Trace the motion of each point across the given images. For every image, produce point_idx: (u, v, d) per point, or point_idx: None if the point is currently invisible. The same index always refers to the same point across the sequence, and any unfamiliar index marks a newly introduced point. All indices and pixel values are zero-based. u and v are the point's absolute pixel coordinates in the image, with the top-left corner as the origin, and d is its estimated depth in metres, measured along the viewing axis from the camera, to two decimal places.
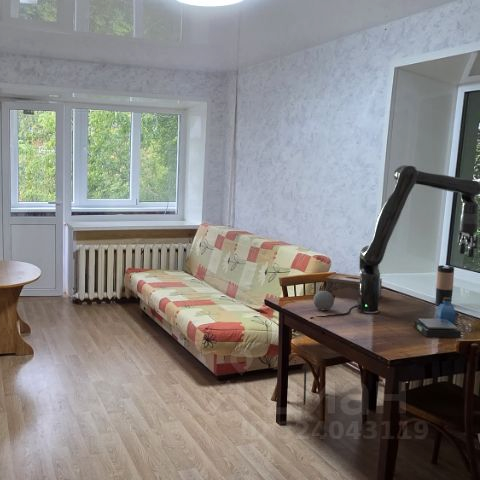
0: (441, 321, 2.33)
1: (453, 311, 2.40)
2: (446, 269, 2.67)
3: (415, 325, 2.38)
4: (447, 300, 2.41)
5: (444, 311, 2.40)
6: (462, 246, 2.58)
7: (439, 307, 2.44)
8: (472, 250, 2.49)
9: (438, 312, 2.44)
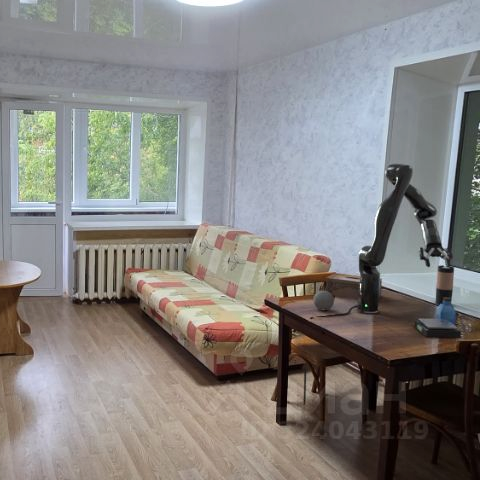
0: (441, 321, 2.33)
1: (453, 311, 2.40)
2: (446, 269, 2.67)
3: (415, 325, 2.38)
4: (447, 300, 2.41)
5: (444, 311, 2.40)
6: None
7: (439, 307, 2.44)
8: None
9: (438, 312, 2.44)
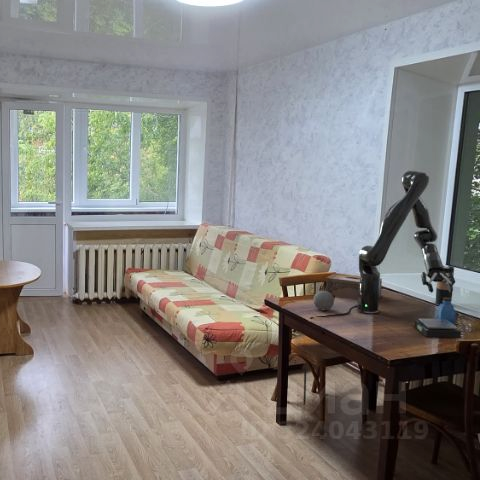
0: (441, 321, 2.33)
1: (453, 311, 2.40)
2: (446, 269, 2.67)
3: (415, 325, 2.38)
4: (447, 300, 2.41)
5: (444, 311, 2.40)
6: None
7: (439, 307, 2.44)
8: None
9: (438, 312, 2.44)
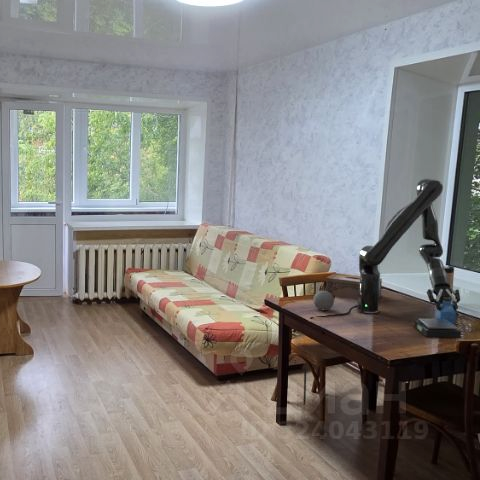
0: (441, 321, 2.33)
1: (453, 311, 2.39)
2: (446, 269, 2.67)
3: (415, 325, 2.38)
4: (447, 300, 2.41)
5: (444, 311, 2.40)
6: None
7: None
8: None
9: (438, 312, 2.44)
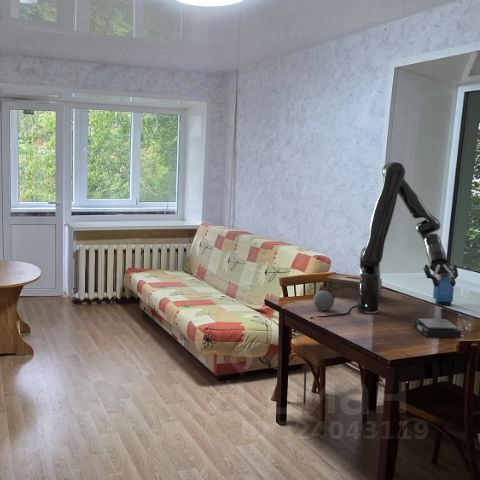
0: (441, 321, 2.33)
1: (451, 287, 2.31)
2: None
3: (415, 325, 2.38)
4: (445, 276, 2.32)
5: (441, 287, 2.32)
6: None
7: None
8: None
9: (435, 288, 2.36)
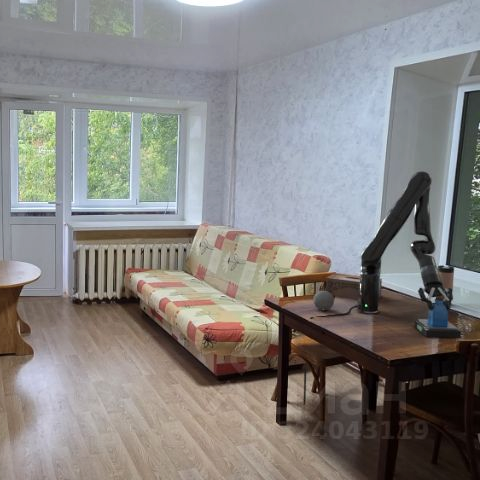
0: None
1: (446, 311, 2.27)
2: (446, 269, 2.67)
3: (415, 325, 2.38)
4: (439, 299, 2.28)
5: (436, 311, 2.28)
6: None
7: None
8: None
9: (430, 312, 2.32)
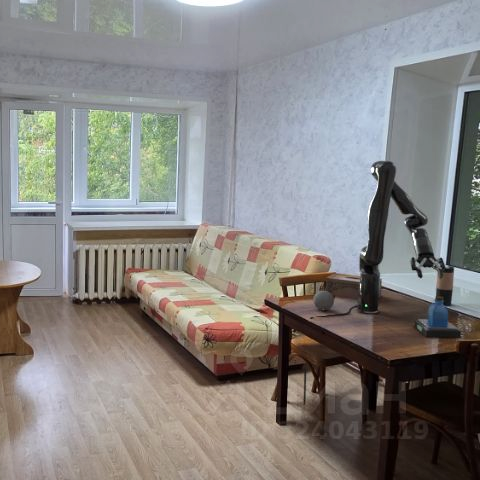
0: None
1: (445, 311, 2.27)
2: (446, 269, 2.67)
3: (415, 325, 2.38)
4: (439, 299, 2.28)
5: (436, 311, 2.28)
6: None
7: (431, 307, 2.32)
8: None
9: (430, 312, 2.32)
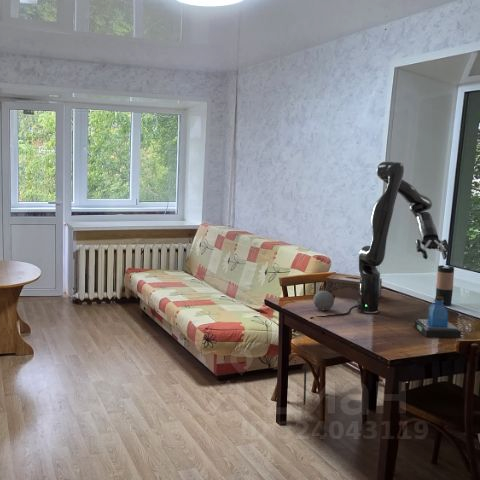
0: None
1: (445, 311, 2.27)
2: (446, 269, 2.67)
3: (415, 325, 2.38)
4: (439, 299, 2.28)
5: (436, 311, 2.28)
6: None
7: (431, 307, 2.32)
8: None
9: (430, 312, 2.32)
